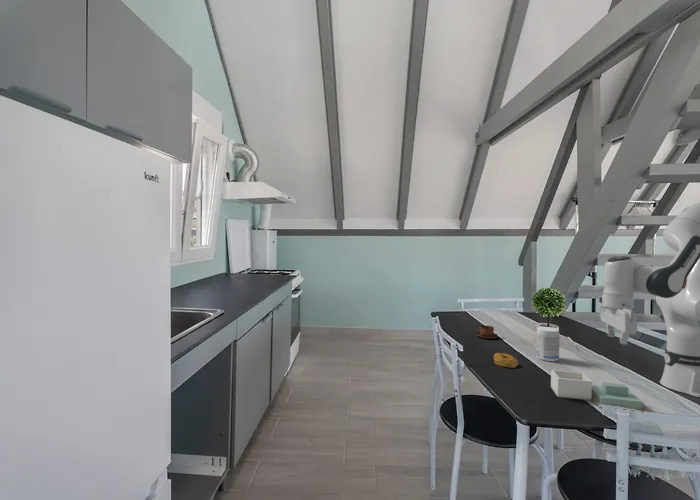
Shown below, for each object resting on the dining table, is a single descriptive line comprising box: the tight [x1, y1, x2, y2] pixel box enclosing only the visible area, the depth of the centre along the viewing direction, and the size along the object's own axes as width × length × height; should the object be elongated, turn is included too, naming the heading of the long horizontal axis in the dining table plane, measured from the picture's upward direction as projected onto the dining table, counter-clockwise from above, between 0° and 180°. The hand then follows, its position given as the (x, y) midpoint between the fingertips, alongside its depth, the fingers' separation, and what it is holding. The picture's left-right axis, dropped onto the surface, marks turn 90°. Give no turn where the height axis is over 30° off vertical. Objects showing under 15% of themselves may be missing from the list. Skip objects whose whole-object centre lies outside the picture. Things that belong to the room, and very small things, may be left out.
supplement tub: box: [536, 326, 560, 362], centre depth 176 cm, size 10×10×15 cm
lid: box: [592, 382, 643, 409], centre depth 131 cm, size 12×10×6 cm
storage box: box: [550, 369, 593, 401], centre depth 137 cm, size 11×9×7 cm
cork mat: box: [591, 395, 650, 412], centre depth 131 cm, size 15×14×1 cm
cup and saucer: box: [476, 325, 499, 340], centre depth 214 cm, size 12×12×6 cm
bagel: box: [493, 352, 519, 369], centre depth 168 cm, size 10×11×5 cm
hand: (617, 340), depth 130 cm, fingers open, 8 cm apart
